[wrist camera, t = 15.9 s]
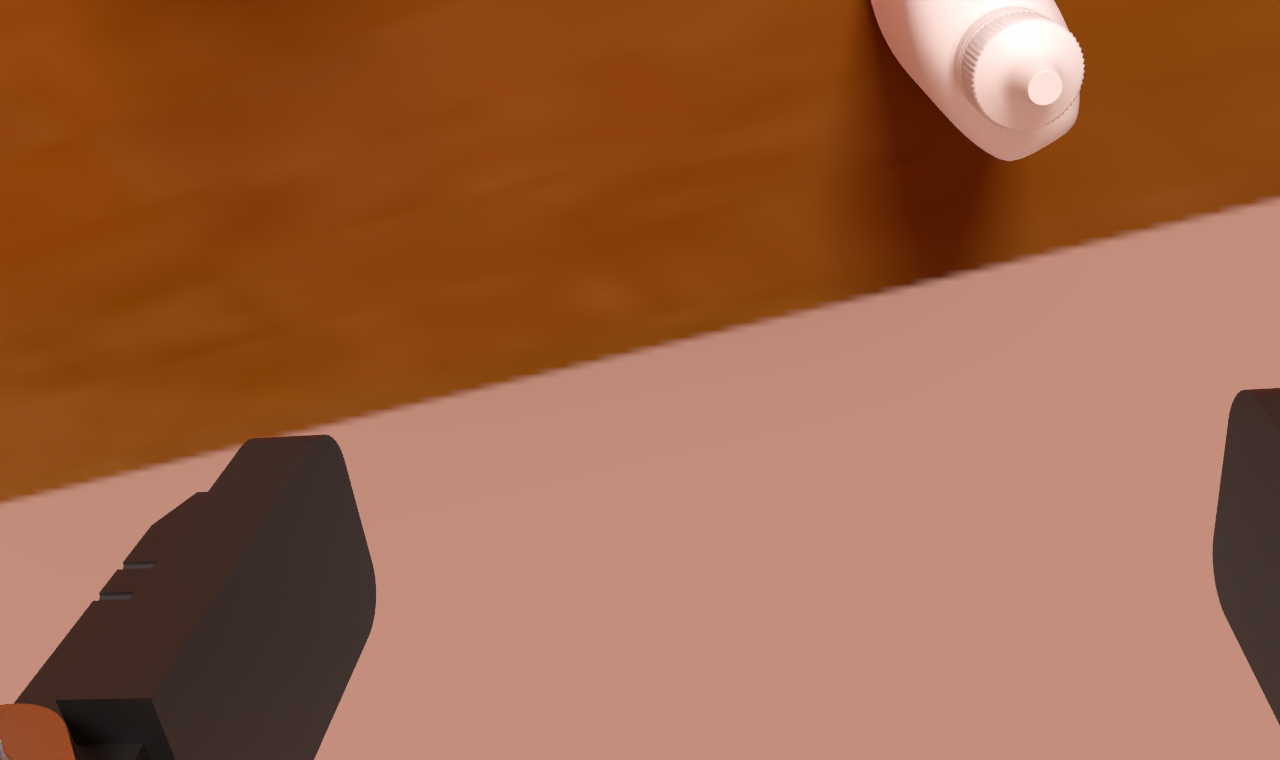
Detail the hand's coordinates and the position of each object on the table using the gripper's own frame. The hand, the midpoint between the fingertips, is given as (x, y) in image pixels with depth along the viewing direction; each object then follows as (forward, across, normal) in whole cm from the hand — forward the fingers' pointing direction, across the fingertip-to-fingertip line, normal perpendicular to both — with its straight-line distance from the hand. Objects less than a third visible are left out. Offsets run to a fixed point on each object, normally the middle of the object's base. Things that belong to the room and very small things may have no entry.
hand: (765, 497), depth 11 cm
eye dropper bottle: (+28, -5, +2) cm, 29 cm away
